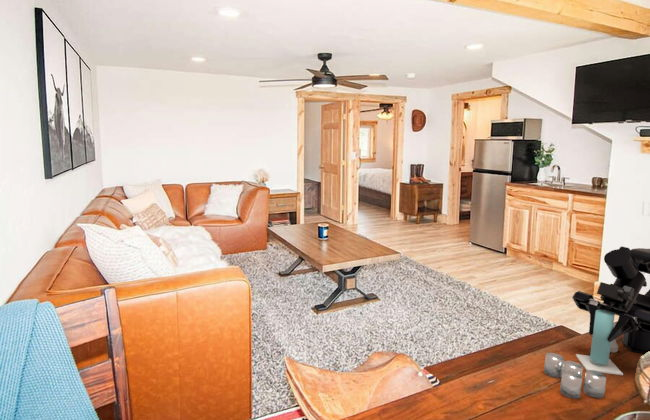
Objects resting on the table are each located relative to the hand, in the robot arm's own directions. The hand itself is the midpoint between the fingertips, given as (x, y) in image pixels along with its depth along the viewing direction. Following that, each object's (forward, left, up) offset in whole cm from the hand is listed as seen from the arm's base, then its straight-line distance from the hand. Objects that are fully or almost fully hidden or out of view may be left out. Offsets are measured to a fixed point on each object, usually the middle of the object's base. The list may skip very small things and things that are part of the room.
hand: (599, 337), depth 104 cm
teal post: (-1, -1, -7) cm, 7 cm away
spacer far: (+11, +15, -8) cm, 20 cm away
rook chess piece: (-8, -11, -8) cm, 16 cm away
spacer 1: (+12, +7, -8) cm, 16 cm away
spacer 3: (+5, +13, -8) cm, 16 cm away
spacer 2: (+9, +10, -8) cm, 15 cm away
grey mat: (-1, -1, -8) cm, 8 cm away
